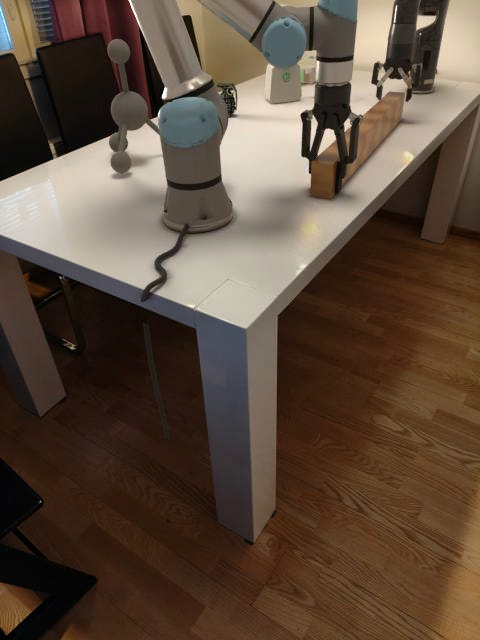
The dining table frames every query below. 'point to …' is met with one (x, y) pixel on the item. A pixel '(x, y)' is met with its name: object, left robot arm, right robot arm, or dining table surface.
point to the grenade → (229, 96)
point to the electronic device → (283, 81)
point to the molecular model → (125, 110)
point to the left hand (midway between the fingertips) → (326, 188)
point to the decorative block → (307, 69)
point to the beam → (370, 136)
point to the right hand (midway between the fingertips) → (393, 100)
